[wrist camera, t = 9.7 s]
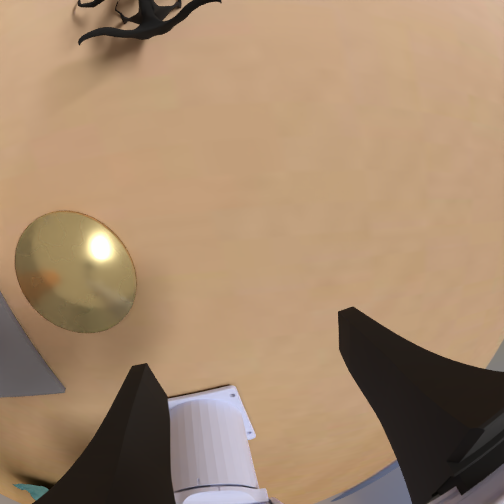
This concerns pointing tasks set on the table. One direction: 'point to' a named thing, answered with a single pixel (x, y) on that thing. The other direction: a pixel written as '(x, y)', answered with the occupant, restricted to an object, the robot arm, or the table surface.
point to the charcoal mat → (22, 361)
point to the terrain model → (33, 490)
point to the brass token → (75, 272)
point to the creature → (145, 19)
